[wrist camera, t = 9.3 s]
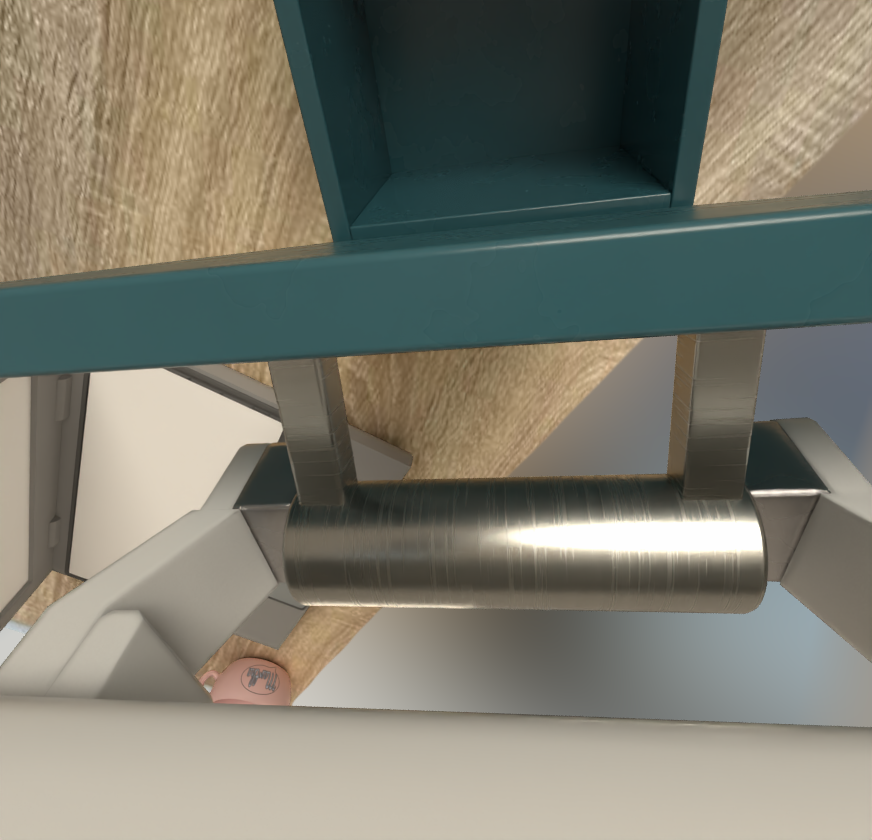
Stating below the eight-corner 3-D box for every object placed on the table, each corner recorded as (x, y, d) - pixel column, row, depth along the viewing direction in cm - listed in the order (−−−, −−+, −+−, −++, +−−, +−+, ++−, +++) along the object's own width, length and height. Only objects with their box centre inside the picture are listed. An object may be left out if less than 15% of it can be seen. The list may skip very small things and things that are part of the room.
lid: (-248, 311, 5) (-22, 702, 6) (1841, 108, 2) (1312, 779, 4) (329, 242, 20) (349, 364, 22) (697, 205, 18) (685, 344, 19)
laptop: (285, 628, 60) (158, 976, 38) (57, 546, 55) (-250, 899, 32) (415, 445, 40) (309, 950, 18) (78, 283, 35) (-694, 733, 12)
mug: (303, 660, 65) (288, 708, 60) (294, 691, 71) (279, 737, 66) (211, 637, 64) (188, 685, 59) (209, 671, 70) (189, 716, 65)
